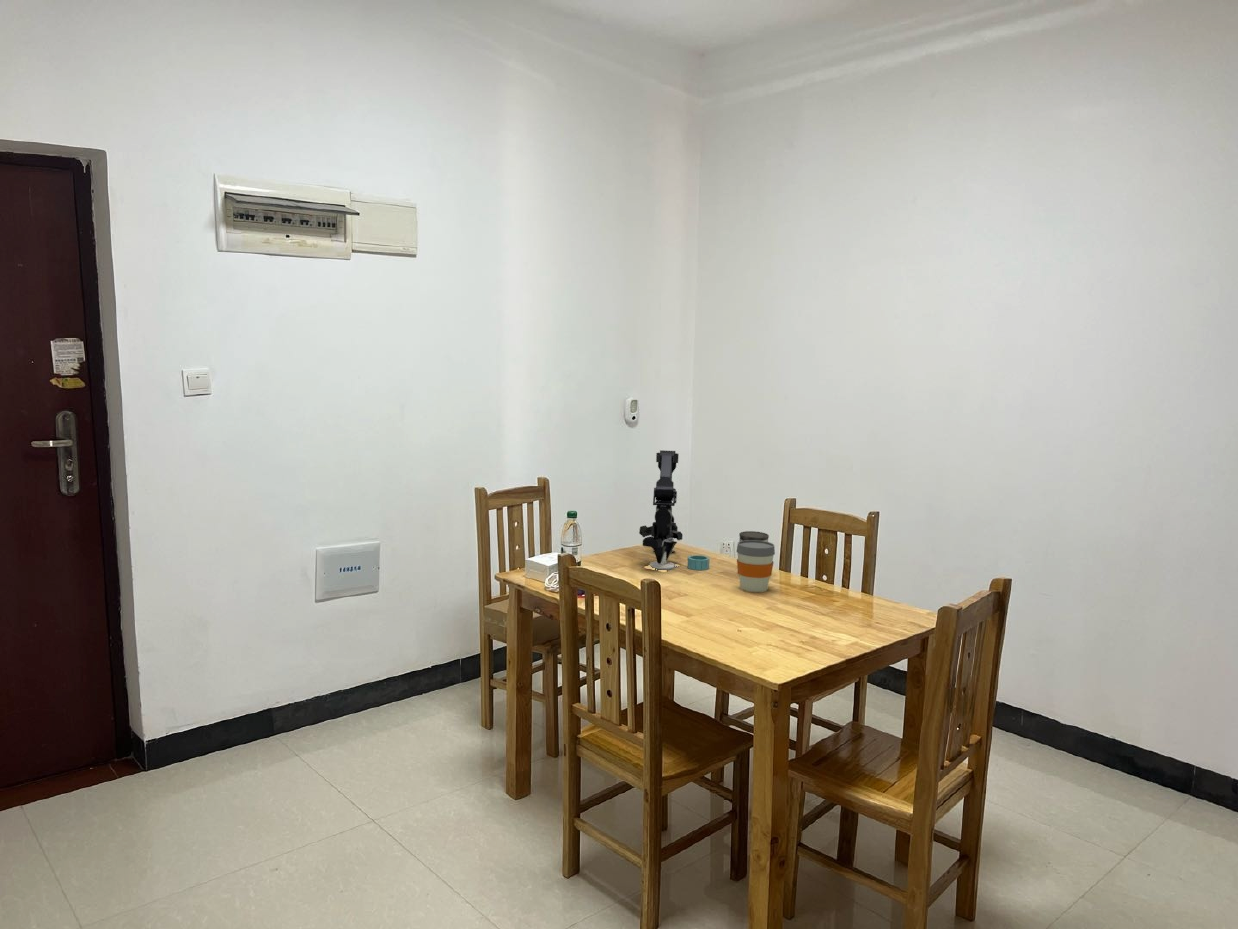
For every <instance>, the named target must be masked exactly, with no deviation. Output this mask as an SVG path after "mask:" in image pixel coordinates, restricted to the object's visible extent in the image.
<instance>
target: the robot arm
mask: <svg viewBox="0 0 1238 929" xmlns="http://www.w3.org/2000/svg"><path fill="white" fill-rule="evenodd" d="M655 454H656V455H655V456H656V458H655V462H656V463H657V467H658V469H659V472H660V474H659V479H657V481H656V483H655V487H653V499H652V506H655V514H654V522H652V526H647V525H642V526H640V527H639V532H638V533H639V535H640V536H641V537H642V538H643V539H642V546H643V547H649V548H652V549H653V551H652V552H653V553H654V555H655V559H656V561H657V562H658V563H661V561H662V558H663V555H664V552H666V561H667V562H668V559H669V557H670V555H671V554H672V553H671V552H674V553H676V550H674V548H675V546H676V544H678V542H677V541H682V540H683V533H682V532H681V531H679V530H678V528H679V527H678V525H677V523H676V522H675V517H674V515H673V507H675V505H676V504H677V497H678V491H677V489H676V488H675V487H674V485H675V484H674V481H673V472H675V469H676V468H677V464H679V457H680V456H679V453H677V452H676V450H660V449H659V452H656V453H655ZM674 539H675V540H677V541H675V540H674Z"/></svg>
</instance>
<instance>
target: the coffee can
mask: <svg viewBox="0 0 1238 929" xmlns="http://www.w3.org/2000/svg"><path fill="white" fill-rule="evenodd" d="M738 536H739V540H738V542H740V541H745V540H758V541H766V542H769V538H770V536H769V534H768V533H766V532H762V531H753V530H750V531H749V530H746V531H741V532H739V535H738Z"/></svg>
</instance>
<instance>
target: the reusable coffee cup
mask: <svg viewBox="0 0 1238 929" xmlns="http://www.w3.org/2000/svg"><path fill="white" fill-rule="evenodd" d="M736 553H737V559H736V565H737V566H736V567H737V574H738V575H739V588H740V589H741V590H742V589H744V590H743V591H745V590H746V592H750V593H751V592H752V593H762V592H766V591H768V588H769V582H770V577H771V576H772V572H773V567H774V555H775V554H776V552H775V544H774V543H772V542H769V541H768V542H766V541H758V540H745V541H740V542H739V541H738V542H737V546H736Z"/></svg>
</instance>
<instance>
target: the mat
mask: <svg viewBox="0 0 1238 929" xmlns="http://www.w3.org/2000/svg"><path fill="white" fill-rule="evenodd" d="M673 563H674V564H678V562H673ZM677 568H679V566H678V567H677V566H676V567H674V568H672V569H657V570H669V571H672V570H674V569H677ZM655 570H656V569H655Z"/></svg>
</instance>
